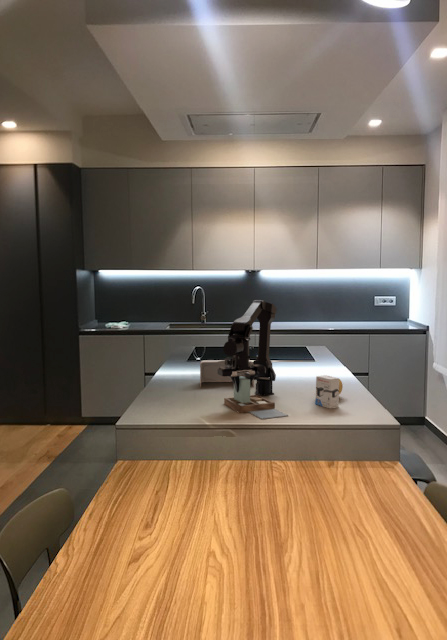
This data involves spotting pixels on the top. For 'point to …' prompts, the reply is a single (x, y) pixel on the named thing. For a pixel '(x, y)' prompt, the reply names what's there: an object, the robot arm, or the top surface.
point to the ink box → (327, 391)
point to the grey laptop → (216, 371)
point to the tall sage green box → (243, 390)
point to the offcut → (255, 399)
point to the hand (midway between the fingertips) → (241, 391)
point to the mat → (268, 413)
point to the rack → (249, 404)
